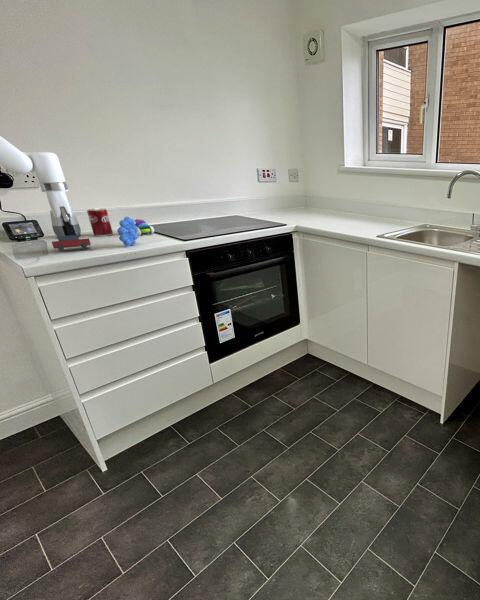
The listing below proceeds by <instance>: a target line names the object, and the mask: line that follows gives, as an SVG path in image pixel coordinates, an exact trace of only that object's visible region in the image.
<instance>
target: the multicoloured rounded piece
mask: <svg viewBox="0 0 480 600" xmlns="http://www.w3.org/2000/svg"><path fill="white" fill-rule="evenodd" d="M134 220H135V222H136V224H135V226H137V227H138V231H137V232H135V233H136V234H137V235H138V237H140V236H141V235H142V234H145V233H146V234H150V235H152V234H154V233H155V228H154V226H152V225H150V224H148V223H147V222H146V221H145V220H144V219H141V218H140V219H139V218H136V219H134Z"/></svg>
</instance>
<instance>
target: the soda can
mask: <svg viewBox="0 0 480 600" xmlns="http://www.w3.org/2000/svg"><path fill="white" fill-rule="evenodd" d="M86 213H87V217H88V220H89V223H90V227H91V230H92V234H93V236H95V237H108V236H112V235H113V233H114V232H113V228H112V224H111V221H110V217H109V212H108V209H106V208H88V209H87V210H86Z"/></svg>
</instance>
